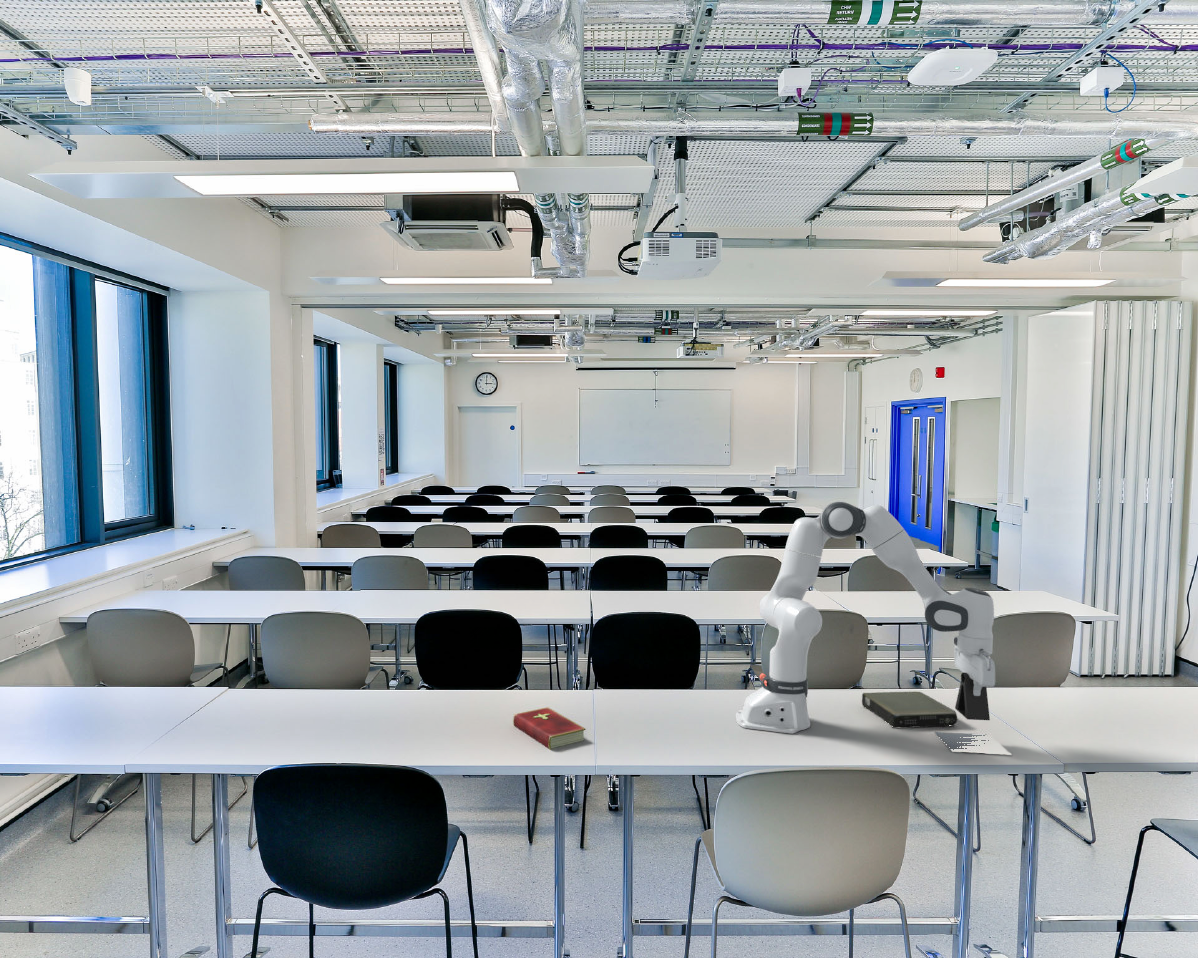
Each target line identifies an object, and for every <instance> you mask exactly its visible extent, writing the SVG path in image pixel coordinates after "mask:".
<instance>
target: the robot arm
mask: <svg viewBox="0 0 1198 958" xmlns="http://www.w3.org/2000/svg"><path fill="white" fill-rule="evenodd" d="M855 535H857V536H859V537H861V538H862V539H863V540H864V541H865V542H866V543H867V545H868V546H869V548H870V549H871V551H872V552H873V554H874V555H876V557H877V558H878V559H879V560H880V561H881V563H883V564H884V565H885V566H886V567H887V568H889V569H892V570H895V571H896V572H898V573H900V574H901V575H903V576H904V577H905V579H907V581H908V582H909V583H910V585H911V586H912V587H913V588H914V590H915V592H917V594H918V595H919V597H920V598H921V600H922V603H923V605H924V606H923V607H924V619H925V621H926V623H927V625H928V626H929V627H930V628H932V629H933V630H934V631H937V632H948V633H949V632H958V635H957V636H953V638H952V643H953V645H954V651H953V657H954V659H953V660H954V666H955V668H956V669H958V670H959V671H961V673H967V674H969V677H970V678H971V679H972V680H974V681H973V683H974V687H973V695H975V696H980V694H981V689H982V687H986V688H993V687H995V685H996V663H995V662H994V659H992V658H991V655H992V654H993V649H994V648H993V644H994V642H993V641H994V634H993V626H994V621H995V608H994V599H993V598H992V596H991V595H990V594H989V593H988V592H986V591H984V590H981V589H978V588H974V587H964V588H963V589H961V590H959V591H957V592H954V593H951V592H949V591H947V590H946V589H945V588H942V587H941V586H940V584H939V583H938V582H937V581H936V580H935V578H933V576H932V574H931V573H930V572H929V571H928V569H927V568H926V566H924V564H923V562H922V560H921V558H920V556H919V553H918V551H917V548H916V546H915V544H914V543H913V540H912V539H911V537H910V536H909V533H908V532H907V531H906V530H905V528H904V527H903V526H902V525H901V524H900V522H899V521H898V520H897V519H896V518H895V517H894V516H893V514H891V513H890V511H888V510H887V509H886V508H885V507H884V506H882V505H878V504H876V505H875V504H873V505H871V506H868V507H866V508H864V509H861V508H859V507H857V506H855V505H852V504H850V503H847V502H845V501H835V502H831V503H829V504H828V505H826V506H825V507H824V508H823V510H822V511H821V513H820V514H819V515H817V517H807V516H806V517H805V516H804V517H800V518H797V519H796V520H795V521H794V523H793V524H792V526H791V529H790V531H789V534H788V537H787V540H786V543H785V544H786V545H785V548H784V552H783V557H782V560H781V565H780V569H779V572H778V574H777V578H776V580H775V581H774V584H773V586H772V587H771V589H770V591H769V592H768V593H767V594H765V595H764V596H763V597H762V598H761V599H760V602H759V606H758V609H759V610H758V611H759V615H760V617H761V618H762V619H763V620H764V621H765V622H766V623H767V625H769V626H771V627H772V628H775V629H777V630H778V637H777V640H776V642H775V645H774V646H773V647H772V648H771V649H770V651H769V674H768V675H766V674H765V673H760V675H759V679H760V681H761V683H762V687H760V688H758V689H757V690H756V691H754V692H752V693H750V694H749V695H747V696H746V698H745V700H744V703H743V708H742V709H739V710H738V711H737V712H736V713H735V720H736V721H735V722H737V724H738V725H739V726H741V727H742V728H743V729H751V730H758V731H759V730H760V731H765V732H767V731H768V732H776V733H783V734H796V733H797V732H799V731H804V730H806V729H809V728H810V727H811V724H812V723H811V721H810V716H809V711H808V702H807V701H808V700H807V697H808V693H809V683H808V682H809V681H808V678H807V668H808V653H809V649H810V646H811V643H812V640H813V638H814V637H816V636H817V635H818V634H819V632H820V631H821V630H822V626H823V617H822V614H821V613H820V611H819V610H818V609H817V608H816V607H815V606H813V605H812V604H811V603H809V602H807V601H804V597H805V595H806V592H807V591H808V589H809V588H810V587H812V586H813V585H814V584H816V582H817V578H818V574H819V569H820V564H821V562H822V556H823V552H824V551H823V550H824V548H825V544H826V543H827V540H829V539H845V538H848V537H851V536H855Z"/></svg>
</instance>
